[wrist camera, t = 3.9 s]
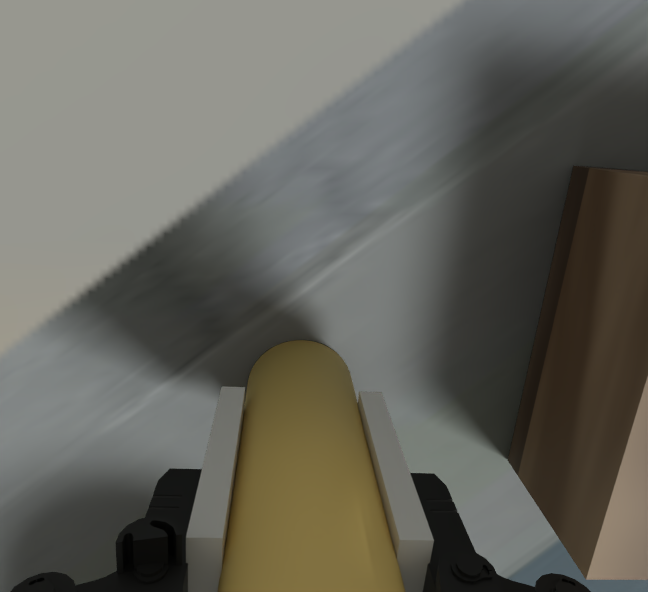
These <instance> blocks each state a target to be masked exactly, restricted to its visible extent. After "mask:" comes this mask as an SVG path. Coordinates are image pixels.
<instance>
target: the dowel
mask: <svg viewBox="0 0 648 592" xmlns="http://www.w3.org/2000/svg"><path fill="white" fill-rule="evenodd" d="M218 592H405V588H404V584H403V580H402V576H401V572H400V568H399V564H398V561H397V558H396V554H395V550H394V546H393V543H392V539H391V535H390V531H389V527H388V523H387V519H386V515H385V511H384V507H383V503H382V499H381V495H380V491H379V487H378V483H377V479H376V475H375V472H374V468H373V464H372V460H371V456H370V452H369V448H368V444H367V440H366V436H365V432H364V428H363V424H362V420H361V416H360V412H359V408H358V403H357V399H356V395H355V391H354V387H353V383H352V379H351V376H350V372H349V370H348V367H347V365H346V364H345V362H344V361H343V359H342V358H341V357H340V356H339V355H338V354H337V353H336V352H335V351H333V350H332V349H330V348H329V347H327V346H325V345H323V344H320V343H317V342H313V341H307V340H295V341H288V342H284V343H281V344H279V345H276V346H274V347H273V348H271V349H269V350H268V351H266V352H265V353H264V354H263V355H262V356H261V357H260V358H259V359H258V360H257V361H256V363H255V364H254V366H253V368H252V370H251V372H250V375H249V379H248V384H247V391H246V398H245V405H244V416H243V423H242V430H241V437H240V445H239V452H238V459H237V466H236V473H235V480H234V487H233V494H232V501H231V508H230V515H229V523H228V530H227V537H226V544H225V551H224V558H223V565H222V571H221V575H220V579H219V585H218Z"/></svg>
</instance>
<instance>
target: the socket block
mask: <svg viewBox="0 0 648 592" xmlns="http://www.w3.org/2000/svg"><path fill="white" fill-rule="evenodd" d="M508 461H509V463H510V464H511V466H512V468H513V469H514V471H515V472H516V474H517V475H518V477H519V478H520V480H521V481H522V483H523V484H524V486H525V487H526V489H527V490H528V492H529V493H530V495H531V496H532V498H533V499H534V501H535V502H536V504H537V506H538V507H539V509H540V510H541V512H542V513H543V515H544V516H545V518H546V519H547V521H548V522H549V524H550V525H551V527H552V528H553V530H554V531H555V533H556V534H557V536H558V537H559V539H560V541H561V542H562V544H563V545H564V547H565V548H566V550H567V551H568V553H569V554H570V556H571V557H572V559H573V560H574V562H575V563H576V565H577V566H578V568H579V569H580V571H581V572H582V574H583V576H584V577H585V579H603V580H648V172H647V171H634V170H622V169H610V168H598V167H585V166H573V170H572V175H571V179H570V184H569V188H568V193H567V197H566V202H565V206H564V211H563V215H562V220H561V224H560V229H559V233H558V238H557V242H556V247H555V251H554V256H553V260H552V264H551V269H550V273H549V278H548V282H547V287H546V291H545V296H544V300H543V305H542V309H541V314H540V318H539V323H538V327H537V332H536V336H535V341H534V345H533V350H532V354H531V359H530V363H529V367H528V372H527V376H526V381H525V385H524V390H523V394H522V399H521V403H520V408H519V412H518V417H517V421H516V426H515V430H514V435H513V439H512V444H511V448H510V453H509V457H508Z"/></svg>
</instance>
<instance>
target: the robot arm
mask: <svg viewBox="0 0 648 592" xmlns="http://www.w3.org/2000/svg"><path fill="white" fill-rule="evenodd" d="M244 401H245V387H224V386H222V387H221V391H220V396H219V400H218V404H217V408H216V412H215V417H214V421H213V425H212V429H211V433H210V438H209V442H208V446H207V450H206V455H205V459H204V463H203V467H202V469H169V470H168V471H167V472H166V473H165V474H164V475H163V476H162V477H161V478H160V479H159V480H158V482H157V485H156V488H155V491H154V494H153V498H152V500H151V502H150V505H149V509H148V511H147V514H146V517H145V518H142V519H138V520H137V521H135V522H133V523H131V524H129V525H127V526H126V528H125V529H124V530H123V531H122V532H121V533H120V534H119V536H118V539H117V541H116V558H117V571H116V572H114V573H112V574H110V575H108V576H107V577H104V578H101V579H98V580H95V581H91V582H87V583H83V584H80V585H76V586H75V584H74V580H72V579H71V578H70V577H69V576H67V575H66V574H62V573H57V572H50V573H41V574H38V575H36V576H33V577H30V578H28V579H26V580H24V581H23V582H21V583H20V584H18V585H17V586H15V587H14V588H13V589H12V591H11V592H218V585H219V579H220V575H221V571H222V565H223V558H224V551H225V544H226V537H227V530H228V523H229V515H230V508H231V501H232V494H233V487H234V480H235V473H236V466H237V459H238V452H239V445H240V437H241V430H242V423H243V416H244ZM358 408H359V412H360V416H361V420H362V424H363V428H364V432H365V436H366V440H367V444H368V448H369V452H370V456H371V460H372V464H373V468H374V472H375V475H376V479H377V483H378V487H379V491H380V495H381V499H382V503H383V507H384V511H385V515H386V519H387V523H388V527H389V531H390V535H391V539H392V543H393V546H394V550H395V554H396V558H397V561H398V564H399V568H400V572H401V576H402V580H403V584H404V588H405V592H590V591H589V589H588V588H587V587H585V586H584V585H582V584H581V583H579V582H578V581H576V580H575V579H572V578H570V577H567V576H565V575H561V574H553V573H551V574H546V575H542V576H541V577H540V578H539V579H538V580H537V581H536V585H535V587H533V586H529V585H526V584H522V583H518V582H515V581H511V580H509V579H506V578H503V577H501V576H499V575H497V573H496V571H495V569H494V567H493V566H492V565H491V564H490V563H489V562H488V561H487V560H486V559H485V558H484V557H482V556H480V555H479V554H477V553H476V552H475V550H474V547H473V545H472V543H471V541H470V538H469V536H468V534H467V532H466V529H465V527H464V525H463V522H462V520H461V518H460V516H459V513H457V509H456V507H455V504H454V502H452V497H451V495H450V493H449V491H448V488H447V486H446V485H445V484H444V483H443V482H442V481H441V480H440V479H439V478H438V477H437V476H436V475H435V474H426V473H410V471H409V468H408V466H407V463H406V460H405V457H404V454H403V451H402V449H401V446H400V443H399V440H398V437H397V435H396V432H395V429H394V426H393V423H392V420H391V418H390V415H389V412H388V409H387V406H386V403H385V401H384V398H383V395H382V393H381V392H359V399H358Z"/></svg>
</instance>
